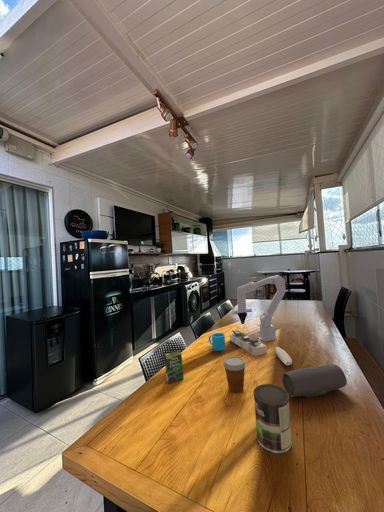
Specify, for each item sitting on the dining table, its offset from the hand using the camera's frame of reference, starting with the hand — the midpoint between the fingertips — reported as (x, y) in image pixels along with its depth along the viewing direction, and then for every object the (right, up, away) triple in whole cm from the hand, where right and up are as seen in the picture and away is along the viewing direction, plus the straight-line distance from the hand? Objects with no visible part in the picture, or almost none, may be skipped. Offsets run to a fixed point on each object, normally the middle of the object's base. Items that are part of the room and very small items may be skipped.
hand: (242, 323), depth 153 cm
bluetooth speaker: (+14, -9, -64) cm, 66 cm away
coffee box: (-43, -13, -47) cm, 65 cm away
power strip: (-2, -10, -10) cm, 15 cm away
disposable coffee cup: (-16, -11, -57) cm, 60 cm away
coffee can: (-10, -10, -85) cm, 86 cm away
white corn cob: (+14, -9, -34) cm, 38 cm away
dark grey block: (-5, -4, -5) cm, 8 cm away
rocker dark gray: (-2, -4, -13) cm, 14 cm away
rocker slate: (+1, -4, -22) cm, 22 cm away
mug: (-19, -12, -11) cm, 25 cm away
